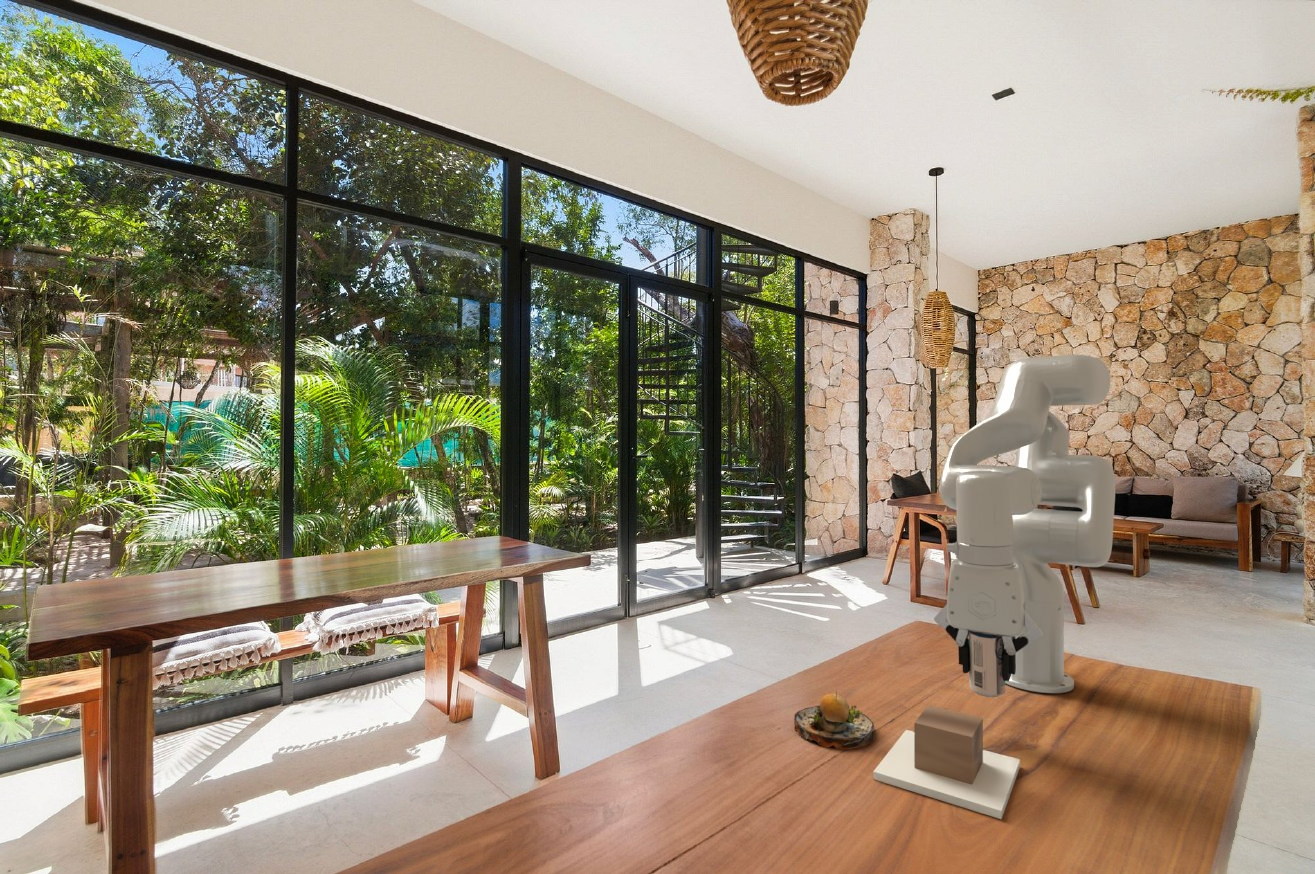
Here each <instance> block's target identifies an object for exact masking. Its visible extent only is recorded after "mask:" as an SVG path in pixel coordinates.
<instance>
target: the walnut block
mask: <svg viewBox="0 0 1315 874" xmlns="http://www.w3.org/2000/svg"><path fill="white" fill-rule="evenodd" d="M983 721H984V718H983V717H981V716H976V715H971V714H967V713H964V712H960V711H955V710H951V709H948V708H942V707H939V706H935V705H934V706H933V705H930V704H927V706H926V707H925V709H924V710H923V711H922V712H921V714H919V716H918V718H917V719H916V720H915V721H914V725H913V727H914V729H913V730H914V731H913V732H914V768H916V769H920V770H923V771H927V772H930V773H933V774H937V775H940V776H944V777H947V778H950V779H954V780H957V781H961V782H964V783H968V784H971V785H972V784H973V782H974V780H975V778H976V776H977V774H978V772H979V769H980V767H981V765H982V763H983V750H984V741H983V740H984V731H983V730H984V722H983Z"/></svg>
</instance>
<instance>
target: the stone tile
mask: <svg viewBox="0 0 1315 874" xmlns="http://www.w3.org/2000/svg"><path fill="white" fill-rule="evenodd" d="M1020 769H1021V759H1019V758H1017V757H1012V756H1009V755H1004V754H999V753H996V752H992V751H990V750H986V749H983V763H982V765H981V767H980V769H979V772H978V774H977V776H976V778H975V780H974V782H973V784H972V785H971V784H968V783H964V782H961V781H957V780H954V779H950V778H947V777H944V776H940V775H937V774H933V773H930V772H927V771H923V770H920V769H916V768H914V731H913V730H908V729H905V731H903V733H902V734H901V735H900V737H899V738H898V739H897V741H896V742H895V743H894V744H893V746H892V747H891V748H890V750H889V751H888V752H887V753H886V755H885V756H884V757H883V759H882V760H881V761H880V763H878V765H877V766H876V768H875V769H874V770H873V778H872V779H873V780H875V781H878V782H880V783H884V784H888V785H891V786H894V787H897V788H900V789H904V790H907V791H910V792H914V793H917V794H920V795H923V796H926V797H929V798H932V799H935V800H939V801H941V802H944V803H947V804H948V803H949V804H952V805H955V806H958V807H961V808H964V809H966V810H970V811H973V812H977V813H979V814H984V815H986V816H989V817H993V818H995V819H999V820H1003V816H1004V814H1005V811H1006V808H1007V804H1008V802H1009V800H1010V797H1011V793H1012V790H1013V788H1014V785H1015V781H1016V780H1017V776H1018V773H1019V771H1020Z"/></svg>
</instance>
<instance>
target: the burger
mask: <svg viewBox="0 0 1315 874" xmlns="http://www.w3.org/2000/svg"><path fill="white" fill-rule="evenodd" d="M819 702H820V703H819V705H815V706H811V707H810V706H809V707H805V708H804V709H800V710H798V711H796V712H795V714H794V719H793V720H794V721H793V722H794V723H793V724H794V726H795V727H794V730H795V729H797V730H796V731H797V734H798V736H799V737H800V736H802V737H801V738H803V739H804V740H805V739H806V740H807V739H808V740H809V741H810V742H812V741H815V742H817V744H818V745H819V746H820V745H821V746H820V747H825V748H830V747H832V746H833V747H835V749H838V748H839V750H848V749H849V750H851V749H859V748H862V747H865V746H868V745H869V744H871V743H872V742H873V741H874V740H875V737H876V736H875V734H876V733H875V732H874V730H875V729H874V728H875V725H874V722H873V721H872V719H871V718H869V716H868V715H865V713H864V714H863V711H862V710H861V711H860V710H856V709H857V705H851V706H849V703H848V701H847V699H845V697H843V696H841V695H840V694H838V691H836V693H829V694H825V695H824V696H823V697H822V698H821V699H820V701H819Z"/></svg>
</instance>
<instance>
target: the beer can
mask: <svg viewBox="0 0 1315 874" xmlns="http://www.w3.org/2000/svg"><path fill="white" fill-rule="evenodd" d="M968 639H969V672H968V673H969V674H968V676H969V688H970V690H971V691H972V692H974V693H976V694H977V695H979V696H981V697H987V698H998V697H1000V696H1003V695H1004V694H1005V693H1006V683H1005V681H1004V680H1003V663H1002V655H1003V653H1004V651H1005V645H1004V642H1003V639H1002V636H999V635H993V634H986V633H980V632H974V631H969V636H968Z"/></svg>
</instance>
